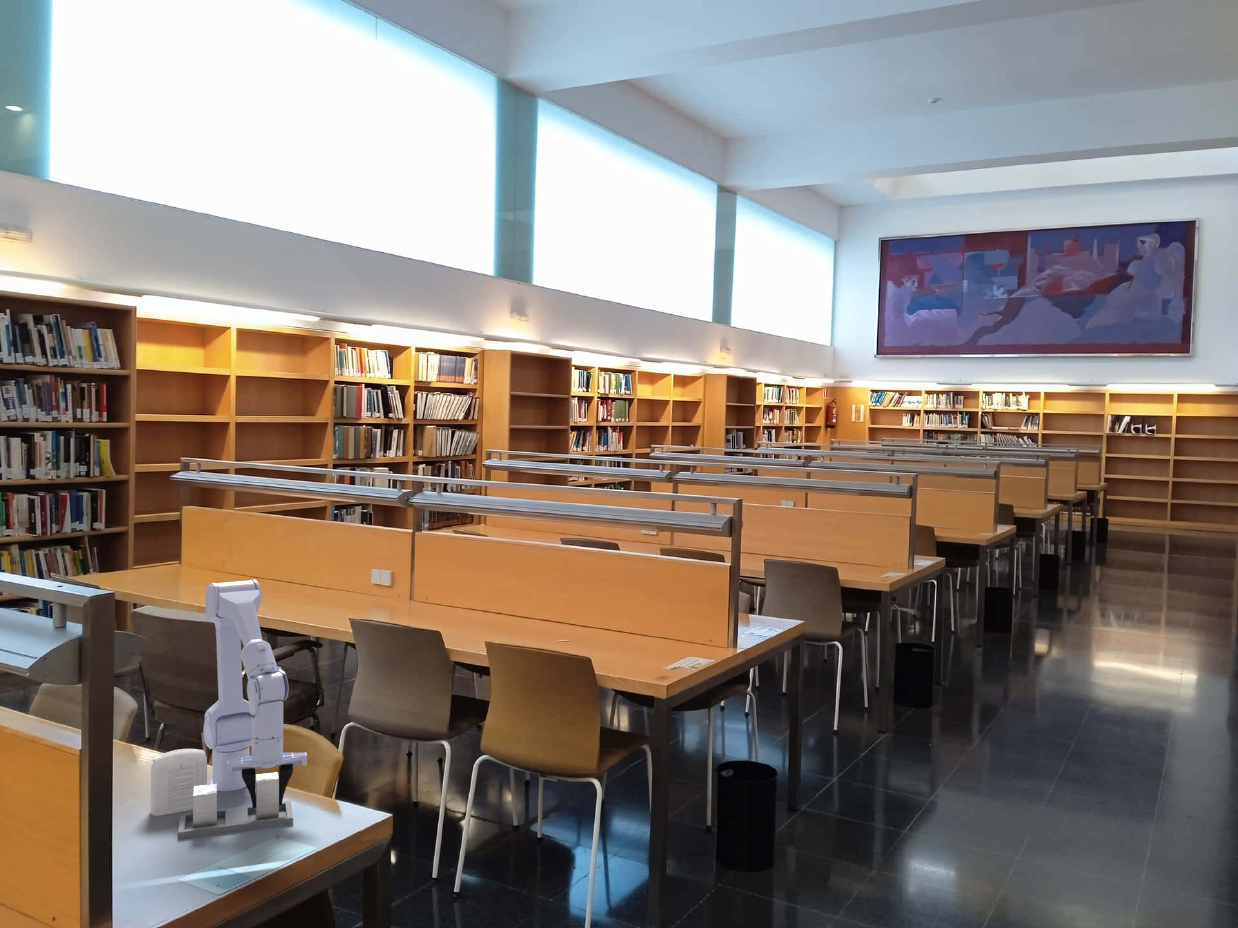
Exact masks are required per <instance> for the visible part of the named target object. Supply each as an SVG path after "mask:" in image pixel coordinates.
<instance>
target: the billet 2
mask: <svg viewBox="0 0 1238 928" xmlns="http://www.w3.org/2000/svg"><path fill="white" fill-rule="evenodd" d="M274 817H279V771H278V772H277V771H275V772H269V773H267V772H266V773H258V774H256V820H259V819H267V818H274Z"/></svg>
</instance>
